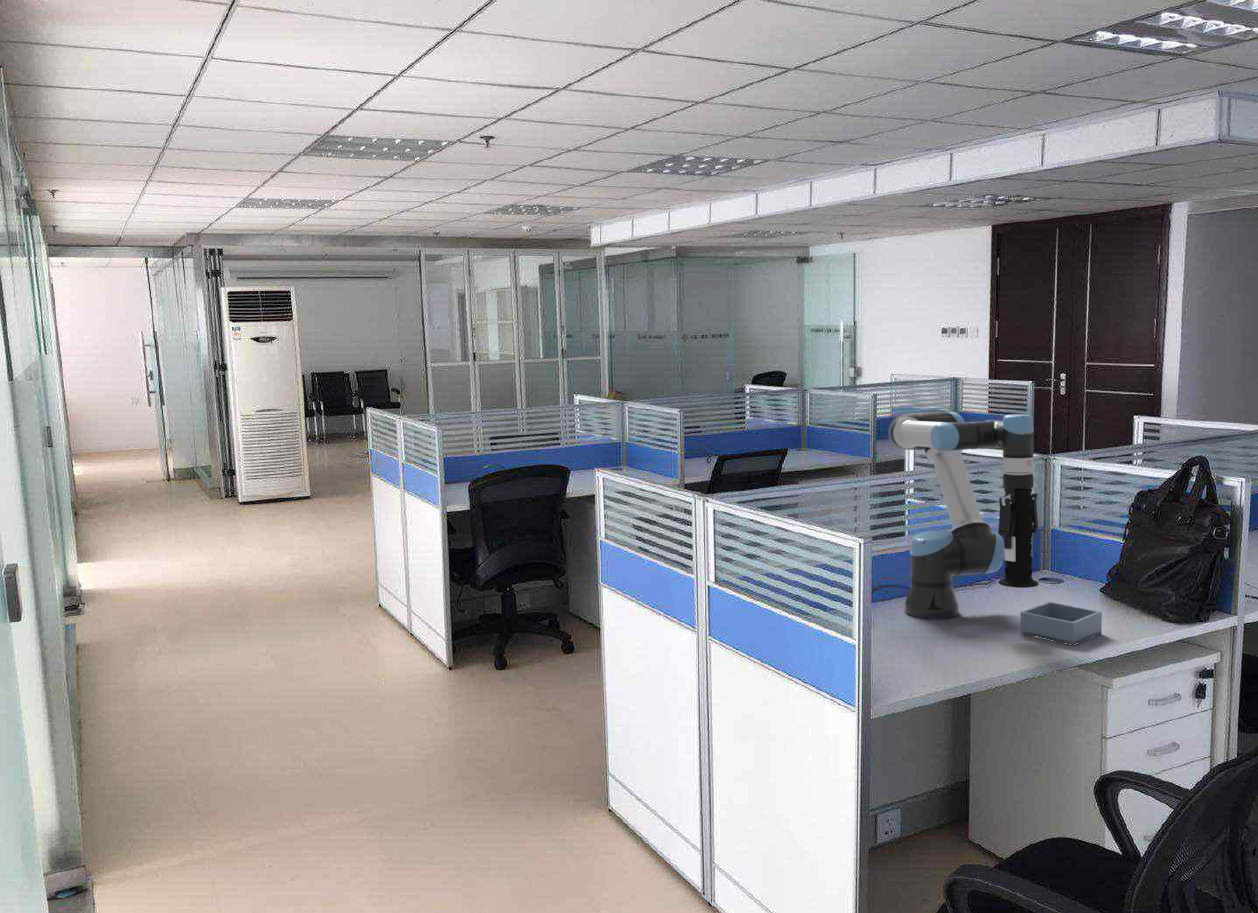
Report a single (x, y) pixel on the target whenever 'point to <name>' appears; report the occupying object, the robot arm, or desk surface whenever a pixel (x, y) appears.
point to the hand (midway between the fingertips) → (1018, 558)
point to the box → (1061, 623)
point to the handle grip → (1021, 543)
